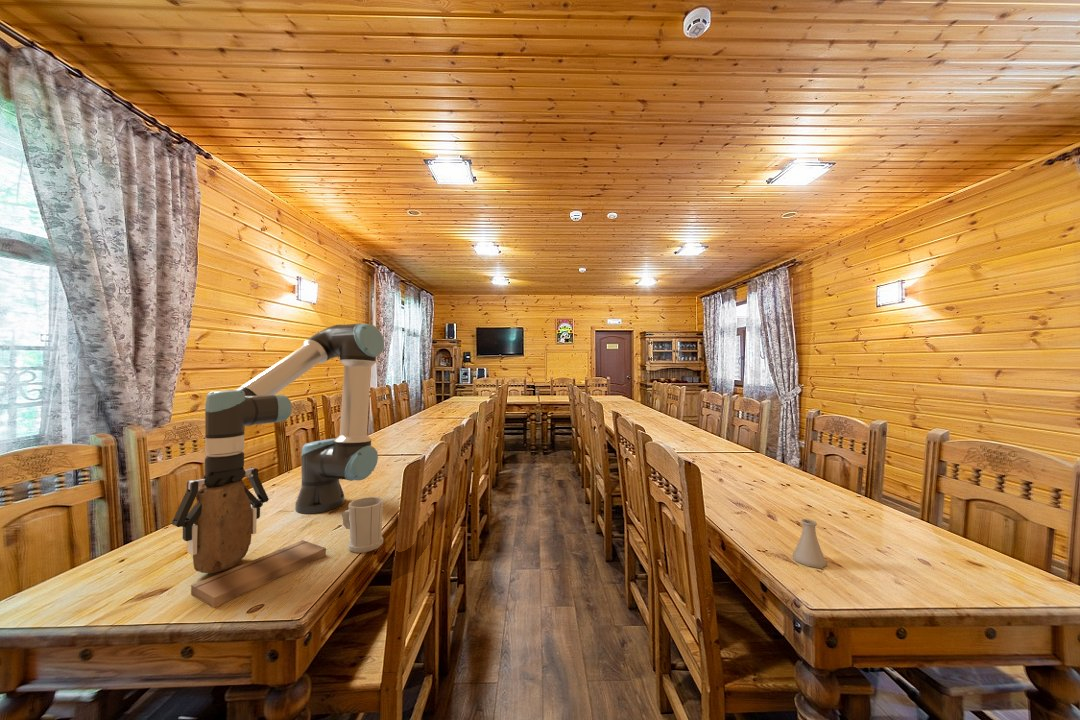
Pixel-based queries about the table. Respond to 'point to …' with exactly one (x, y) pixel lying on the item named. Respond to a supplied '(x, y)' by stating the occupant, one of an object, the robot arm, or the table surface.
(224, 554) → the brown pitted rock
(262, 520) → the table surface
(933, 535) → the table surface
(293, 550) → the board
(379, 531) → the cup
